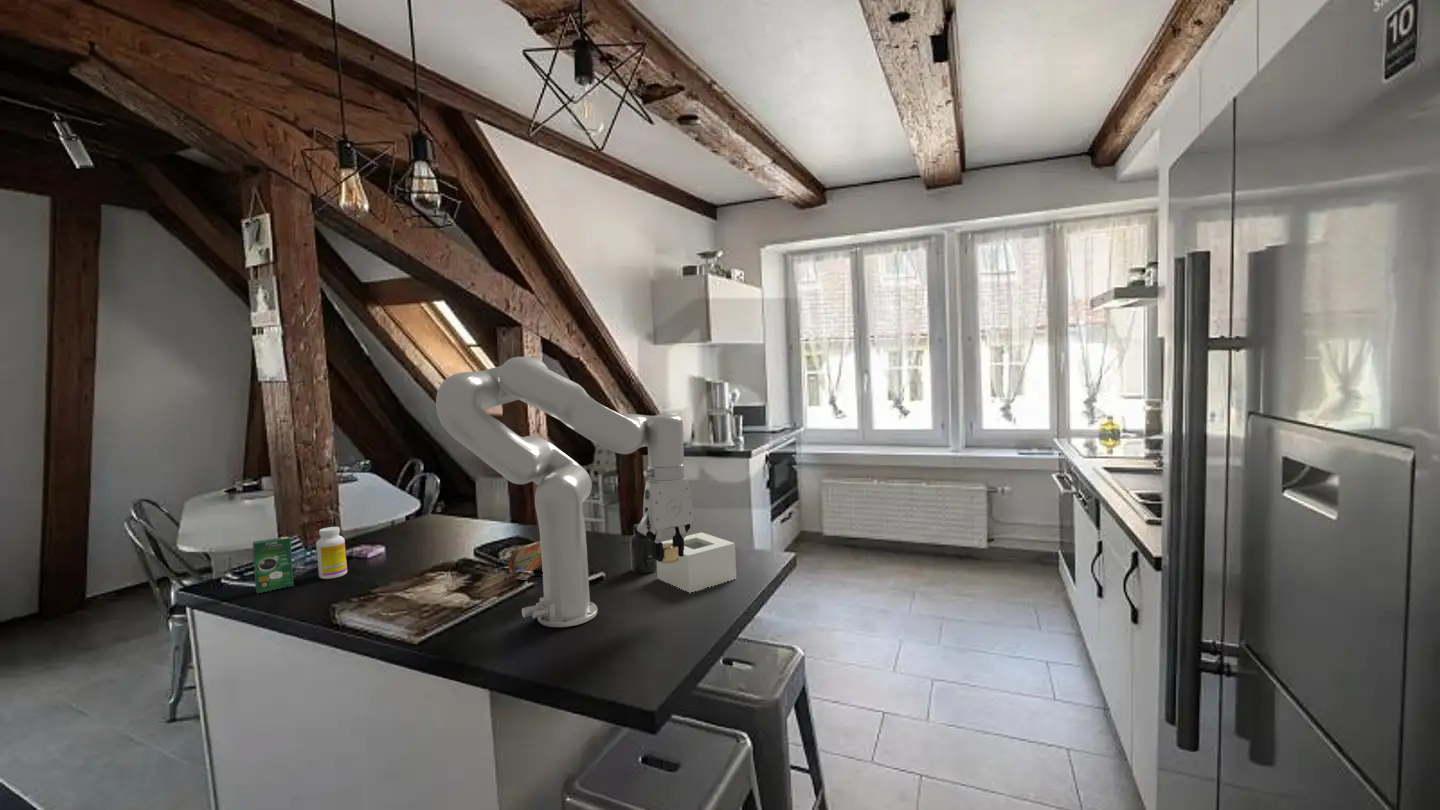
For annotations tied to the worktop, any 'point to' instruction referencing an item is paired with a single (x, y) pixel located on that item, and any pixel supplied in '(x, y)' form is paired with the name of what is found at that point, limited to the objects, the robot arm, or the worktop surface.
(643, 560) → the supplement bottle
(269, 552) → the coffee box
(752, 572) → the worktop surface
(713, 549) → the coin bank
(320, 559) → the supplement bottle
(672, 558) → the gold short cylinder
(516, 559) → the tin
